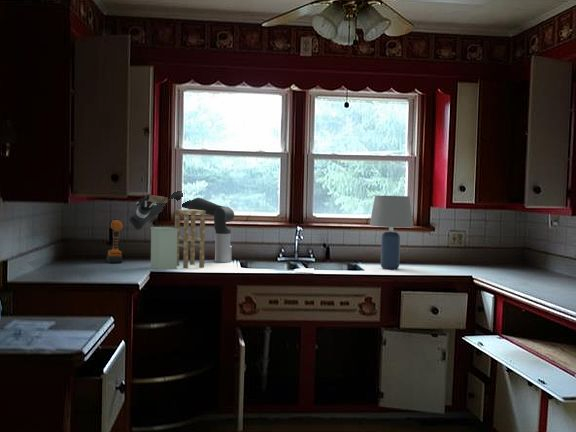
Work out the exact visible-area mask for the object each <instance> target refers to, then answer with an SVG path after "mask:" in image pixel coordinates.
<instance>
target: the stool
mask: <svg viewBox="0 0 576 432" xmlns="http://www.w3.org/2000/svg"><path fill="white" fill-rule="evenodd" d="M181 214H182V215H183V235H180V226H181V224H180V223H181V222H180V219H181ZM205 214H206V211H204V210H195V209H187V208H184V209H183V208H181V209H178V208H175V209H174V216H175V217H174V228H177V229H178V231H177V266H180V247H181V248H183V254H182V256H183V258H182V260H183V262H182V268H183V269H184V268H186V269H188V268H189V265H192V266H193V265H196V264H195V263H196V262H195V259H196V253H195V252H196V247H198V248H199V258H198V259H199V260H198V261H199V262H198V263H199V268H200V269H203V268H205V237H206V235H205V234H206V231H205V230H206V215H205ZM197 215H200V217H199V219H200V220H199V237H196V217H197ZM189 219H190V220H189ZM189 225H190V226H189ZM189 228H190V229H189ZM189 230H190V235H189ZM180 239H183V244H182V243H180ZM196 241H199V243H196ZM189 242H190V244H189ZM189 245H190V248H189ZM189 250H190V253H189Z"/></svg>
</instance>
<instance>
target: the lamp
mask: <svg viewBox="0 0 576 432" xmlns="http://www.w3.org/2000/svg"><path fill="white" fill-rule="evenodd" d="M373 199H374V200H373V204H372V205H373V206H372V211H371V216H370V222H369V226H371V227H382V228H388V231H383V233H382V235H381V241H380V242H381V246H380V267H381V268H382V269H383V270H387V269H391V271H394V269H396V270H398V269H399V268H400V257H401V256H400V255H401V235H400V233H398V232H397V231H394V228H414V222H413V220H414V219H413V214H412V213H413V211H412V204H411V198H410V196H409V195H408V196H407V195H405V196H404V195H403V196H402V195H374V198H373Z"/></svg>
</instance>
